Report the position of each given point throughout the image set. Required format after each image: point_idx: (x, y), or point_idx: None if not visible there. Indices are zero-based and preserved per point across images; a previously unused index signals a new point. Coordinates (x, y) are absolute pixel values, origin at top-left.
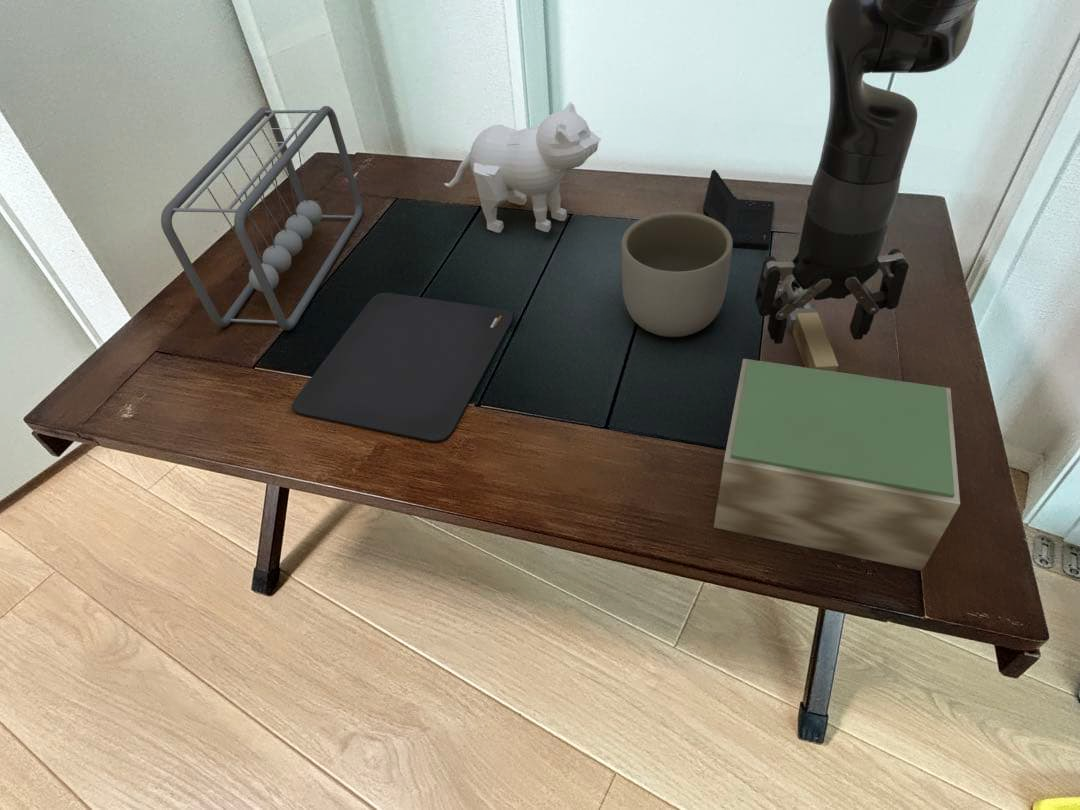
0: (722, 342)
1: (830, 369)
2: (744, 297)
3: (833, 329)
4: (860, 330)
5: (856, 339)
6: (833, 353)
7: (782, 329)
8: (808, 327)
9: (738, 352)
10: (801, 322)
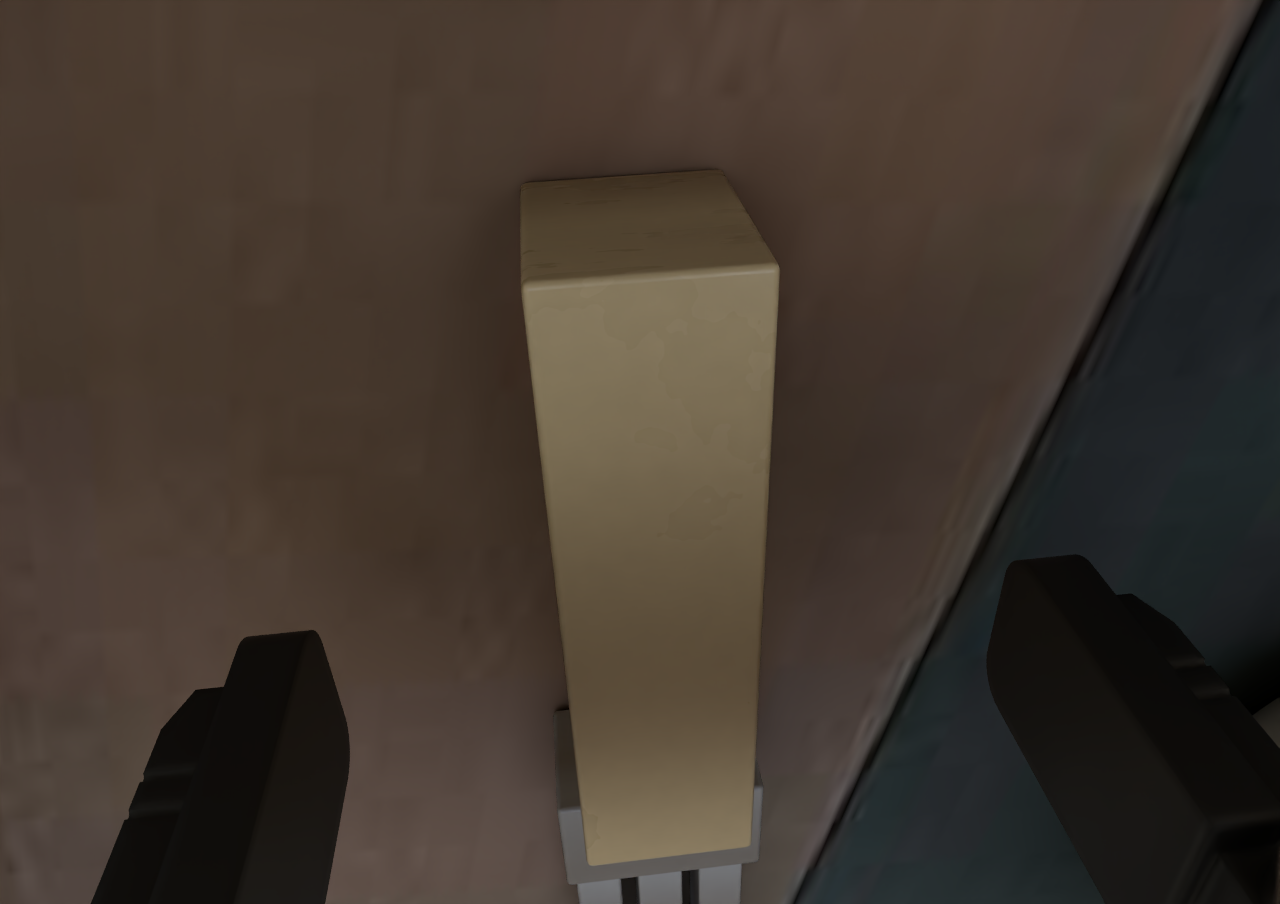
0: (1191, 598)
1: (601, 257)
2: (906, 897)
3: (433, 730)
4: (256, 730)
5: (296, 633)
6: (547, 461)
7: (1158, 696)
8: (701, 736)
9: (1134, 521)
10: (742, 776)
